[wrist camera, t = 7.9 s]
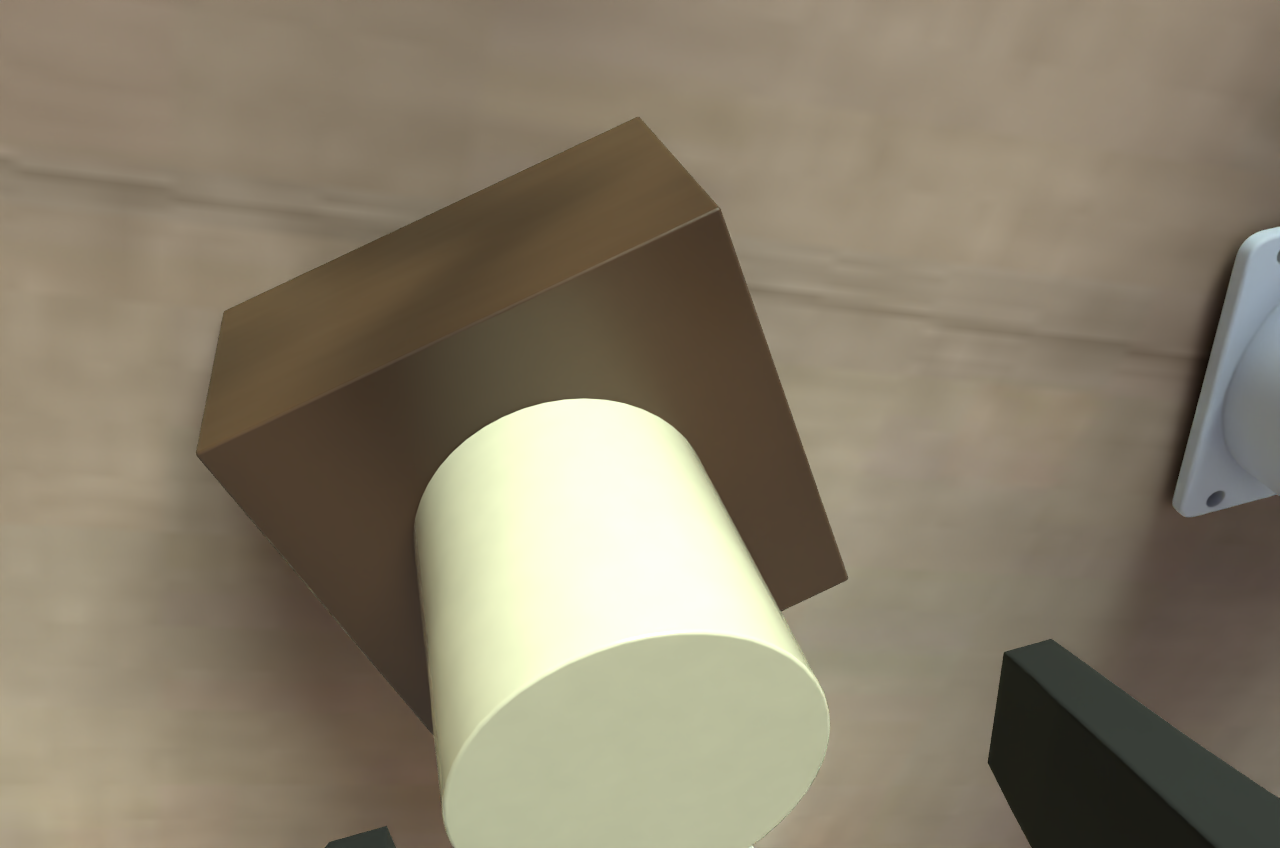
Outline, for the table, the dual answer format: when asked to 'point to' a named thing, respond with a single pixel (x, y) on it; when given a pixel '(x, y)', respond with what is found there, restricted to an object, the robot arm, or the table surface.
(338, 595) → the brown wooden square block
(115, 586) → the table surface
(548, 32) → the table surface
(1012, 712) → the robot arm
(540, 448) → the canister
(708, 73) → the table surface
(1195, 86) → the table surface
